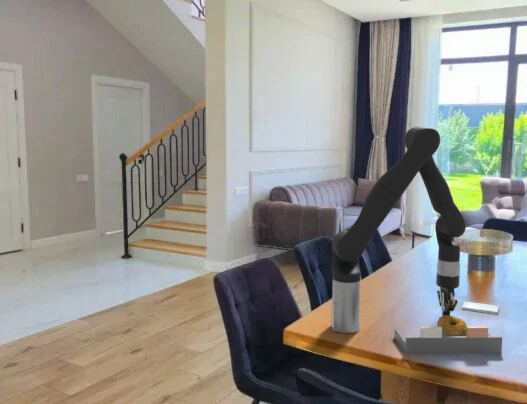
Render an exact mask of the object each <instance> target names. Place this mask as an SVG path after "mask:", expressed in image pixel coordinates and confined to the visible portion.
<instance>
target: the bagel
mask: <svg viewBox="0 0 527 404" xmlns="http://www.w3.org/2000/svg"><path fill="white" fill-rule="evenodd" d="M436 327H441V328H442V330H443V331H444V332H445V333H446V334H447V335H448V336H466V333H467V327H468V326H467V323H466V322H465V320H463V319H461V318H458V317H455V316H453V315H450V316H449V315H444V316H442V315H441V316H439V318H438V320H437V321H436Z"/></svg>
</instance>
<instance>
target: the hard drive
mask: <svg viewBox="0 0 527 404" xmlns="http://www.w3.org/2000/svg"><path fill="white" fill-rule="evenodd" d="M462 304H463V305H462V308H461V310H462V309H463V311H469V310H470V311H469V312H475V311H477V313H482V312H483V314H491V315H497V316H498V314H499V311H500V305H494V304H489V303H488V304H486V303H477V302H471V301H464V302H463V303H462Z"/></svg>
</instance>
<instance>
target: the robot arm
mask: <svg viewBox="0 0 527 404" xmlns="http://www.w3.org/2000/svg"><path fill="white" fill-rule="evenodd" d="M440 135H441V134H440V133H439V131H438V130H436V129H435V128H434V127H433V128H432V127H427V126H413V127H411V128H410V129H408V130H407V131H406V133H405V135H404V140H403V141H404V146H405V147H406V148H405V149H406V151H405V153H404V155H402V157H401V158H400V159H399V160H398V161H397V162H396V163H395V164H394V165H393V166H392V167H390V168H389V169H388V170H387V171H386V172H385V173H383V174H382V175H381V176H380V177H379V178H378V180H377V181H376V183H374V185H373V186H372V187H371V189H370V191H369V192H368V194H367V196H366V197H365V200H364V202H363V205H362V207H361V210H360V212H359V215H358V217H357V219H356V220H355V222H354V223H353V224H352V226H351V227H350V228H349V229H348V230H342V231H339V232H337V233H336V234H335V235H334V237H333V239H332V243H331V271H332V297H331V300H330V302H331V303H330V327H331V329H332V331H333V332H337V333H342V334H354V333H357V332H359V330H360V326H361V325H360V324H361V323H360V319H361V318H360V317H361V316H360V314H361V311H360V310H361V281H362V280H361V278H362V277H361V275H362V274H361V269H360V263H359V262H360V261H359V258H361V256H363V254H364V252H365V250H366V248H367V247H368V246H369V243H370V242H371V240H372V237H374V234H375V233H376V231H377V230H378V228H380V226H381V225H382V223H383V222H384V221H385V219H386V218H387V216H388V215H389V213H390V212H392V210H393V209H394V207H395V206H396V204H397V203H398V202H399V200H400V199H401V197H402V196H403V194H404V193H405V192H406V190H407V189H408V187H409V186H410V185H411V183H412V181H413V180H414V179H415V177H416V176H417V175H418V173H419V175H420V177H421V179H422V182H423V184H424V186H425V187H424V188H425V189H426V192H427V195H428V198H429V201H430V203H431V206H432V207H431V208H432V209H433V210H434V212H435V213H437V214H439V215H440V216H439V217H437V219H436V222H435V226H434V230H435V231H434V232H435V237H436V241H437V246H438V251H437V253H438V255H437V262H436V264H437V265H436V281H435V283H436V284H435V285H436V286H437V287H439V289H438V290H437V291H436V293H437V298H438V303H439V307H440V308H441V310H442V313H441V317H442V316H444V315H449V316H451V312H454V311H455V309H456V307H457V304H458V299H455V297H456V296H455V295H456V293H455V289H457V288H459V287H460V277H461V276H460V275H461V263H460V261H461V260H460V259H461V247H460V244H458V243H457V242H456V241H455V238H459V237H460V238H461V237H462V236H463V235H464V234H465V232H466V227H467V226H466V221H465V218H464V215H463V214H462V213H461V211H460V210H459V207H458V206H457V205H456V204H455V202H454V198H453V196H452V192H451V190H450V187H449V184H448V183H447V180H446V178H445V177H444V176H443V173H441V171H440V169H439V167H438V166H437V163H436V162H435V159H434V158H433V157H434V155H435V153H436V152H437V150H439V149H438V148H439V147H440V145H441V136H440Z"/></svg>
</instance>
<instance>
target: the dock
mask: <svg viewBox="0 0 527 404" xmlns="http://www.w3.org/2000/svg"><path fill="white" fill-rule="evenodd" d="M419 333H420V336H405V335H403V334H402V332H401V331H400V330H399V329H398V328H394V333H393V334H394V335H393V336H394V339H395V341H396V343H398V345H399V346H400V348H401V349H402V350H403V352H404V353H405V354H406V355H427V354H428V355H429V354H430V355H431V354H432V355H436V354H437V355H438V354H440V355H441V354H444V355H446V354H447V355H448V354H451V355H452V354H454V355H455V354H502V350H503V347H502V346H503V336H501V335H492V334H491V333H490V332H489V327H488V326H467V333H466V334H465V335H460V336H448V335H447V334H446V333H445V332H444V331H443V330H442V328H441V327H437V326H420V332H419Z"/></svg>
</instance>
